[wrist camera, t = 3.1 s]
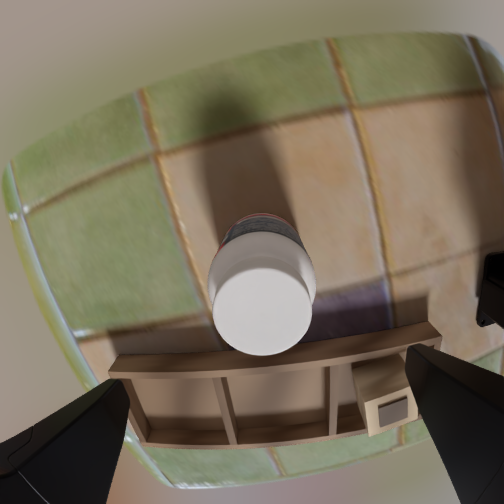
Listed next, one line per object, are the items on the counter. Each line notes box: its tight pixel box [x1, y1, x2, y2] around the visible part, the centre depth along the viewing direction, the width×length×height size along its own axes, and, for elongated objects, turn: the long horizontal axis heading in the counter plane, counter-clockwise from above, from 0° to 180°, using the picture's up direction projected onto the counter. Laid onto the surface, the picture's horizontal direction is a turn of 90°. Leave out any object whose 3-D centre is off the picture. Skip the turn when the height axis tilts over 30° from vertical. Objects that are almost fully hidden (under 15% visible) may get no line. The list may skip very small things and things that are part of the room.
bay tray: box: [108, 321, 442, 449], centre depth 23 cm, size 25×9×2 cm, turn 97°
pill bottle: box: [208, 213, 316, 355], centre depth 17 cm, size 5×5×9 cm
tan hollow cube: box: [351, 353, 418, 436], centre depth 21 cm, size 4×4×4 cm
